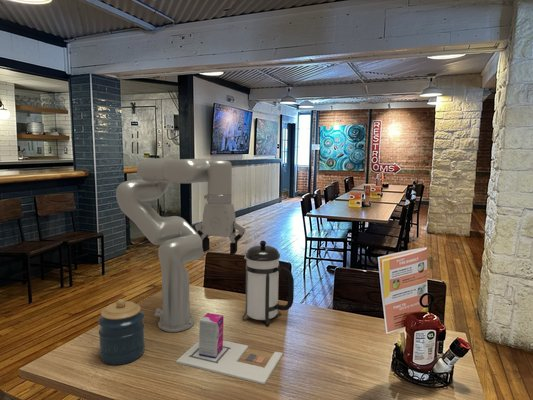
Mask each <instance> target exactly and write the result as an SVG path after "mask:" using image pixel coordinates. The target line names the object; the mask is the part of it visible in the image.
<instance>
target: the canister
mask: <svg viewBox="0 0 533 400" xmlns="http://www.w3.org/2000/svg"><path fill="white" fill-rule="evenodd" d="M100 315H101V316H100V317H99V318H98V321H97V323H98V324H99V326H100V327H99V329H98V335H99V357H100V360H101V361H102V362H103V363H104V364H107V365H113V366H119V365H125V364H129V363H132V362H134V361H136V360H138V359H139V358H140V357H142V356H143V354H144V351H145V347H146V345H145V344H146V343H145V329H144V328H145V323H144V322H143V319H144V317H145V313H144V312H143V311H142V307H141V305H140V304H137V303H135V302H134V301H131V300H130V301H129V300H127V301H125V299H123V298H119V299H118V300H117V301H116V302H113V303H110V304H109V305H107V306H106V307H104V308H103V309H102V310H101V312H100Z"/></svg>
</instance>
